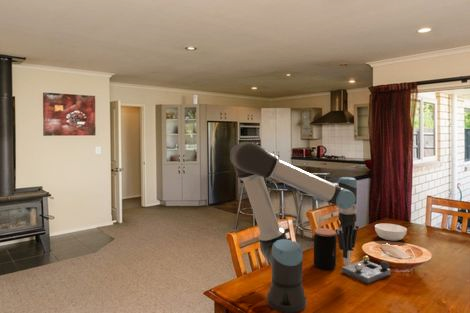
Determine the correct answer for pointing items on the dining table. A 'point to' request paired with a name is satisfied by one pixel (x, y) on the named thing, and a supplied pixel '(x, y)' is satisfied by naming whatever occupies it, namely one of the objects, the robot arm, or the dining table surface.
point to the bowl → (390, 231)
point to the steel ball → (358, 267)
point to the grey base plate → (366, 271)
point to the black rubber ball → (384, 264)
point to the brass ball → (366, 258)
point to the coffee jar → (325, 249)
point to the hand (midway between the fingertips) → (346, 264)
